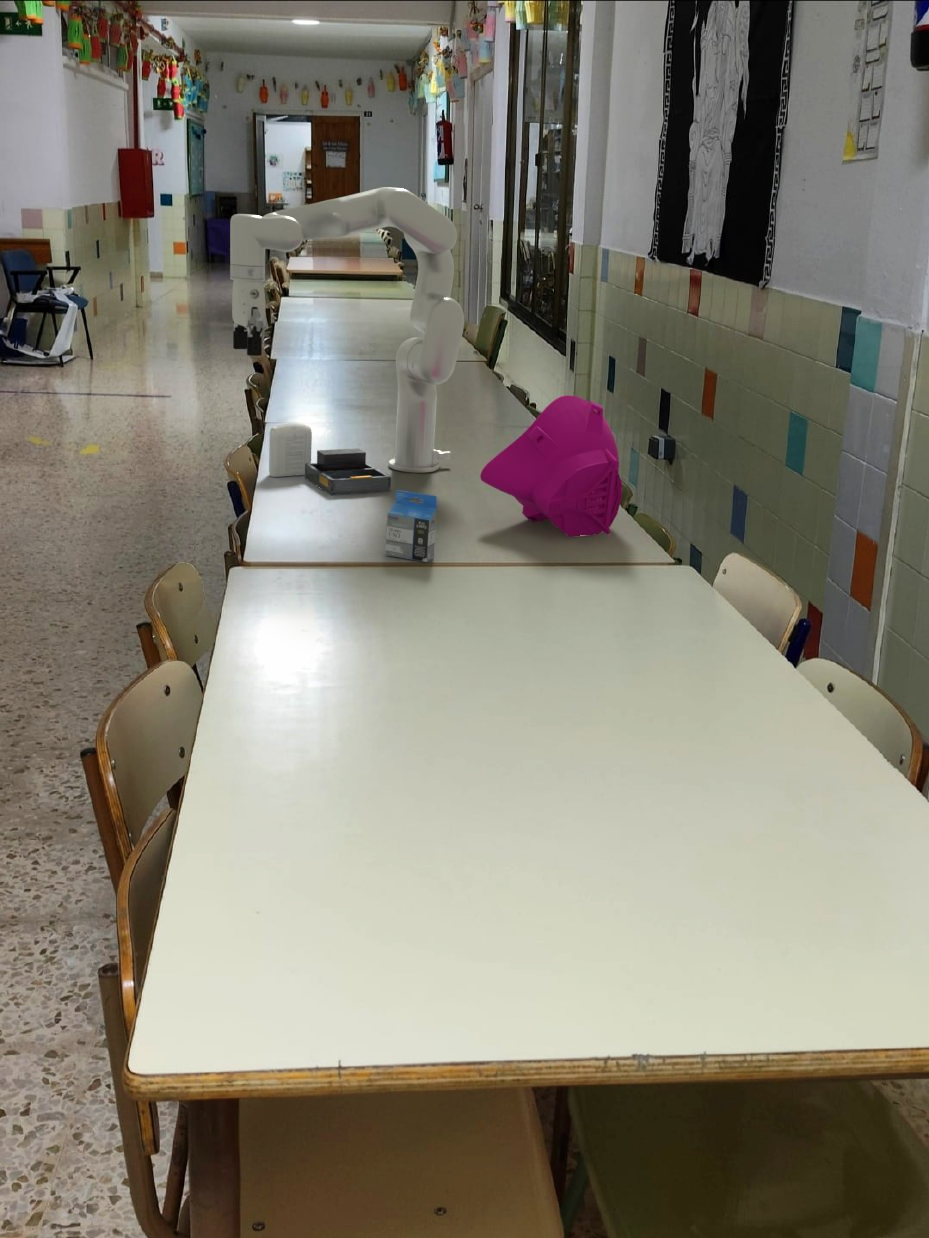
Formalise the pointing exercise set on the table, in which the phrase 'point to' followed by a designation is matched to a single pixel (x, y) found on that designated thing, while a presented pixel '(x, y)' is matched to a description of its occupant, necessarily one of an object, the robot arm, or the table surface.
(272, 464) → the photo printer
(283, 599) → the table surface
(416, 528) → the label tape box
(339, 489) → the tray
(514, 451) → the face mask
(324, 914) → the table surface
